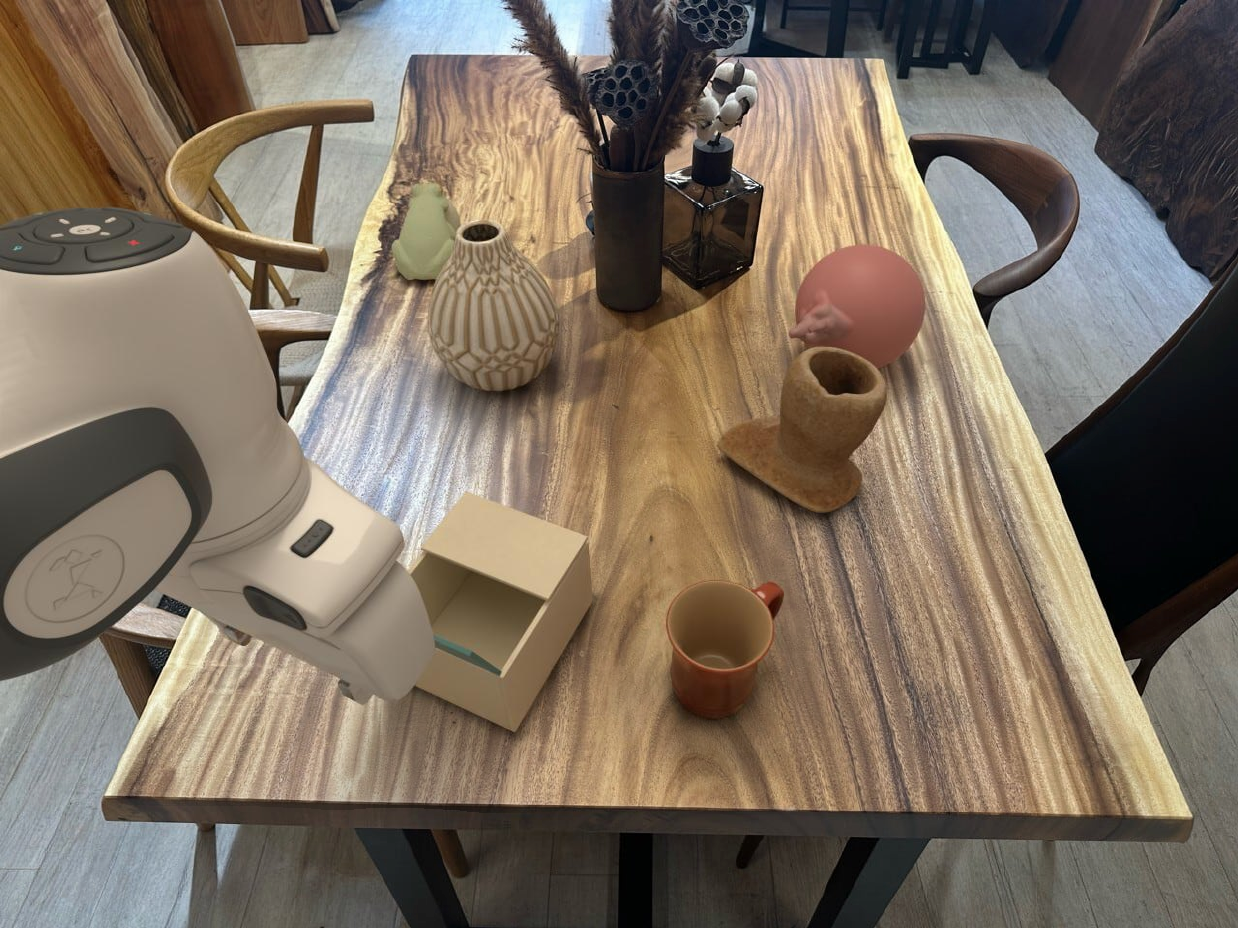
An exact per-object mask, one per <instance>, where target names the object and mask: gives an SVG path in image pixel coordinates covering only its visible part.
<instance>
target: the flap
mask: <svg viewBox="0 0 1238 928" xmlns="http://www.w3.org/2000/svg"><path fill="white" fill-rule="evenodd" d="M433 636H434V641H435V648H437V649H440V650H442V651H444V652H446V653H448V654H451V655H453V656H455V657H457V658H460V659H462V660H464V661H466V662H469V663H471V664H473V665H475V666H478V667H480V668H482V669H484V670H487V671H489V672H491V673H493V674H496V675H498V676H500V675H501V673H502V671H500V670H499V669H497V668H496V667H495V666H493V665H492V664H490V663H489V662H487V661H486V660H484V659H483V658H481V657H480V656H479V655H477V654H476V653H474V652H473V651H471V650H469V649H466V648H464V647H462V646H460V645H457V644H455V643H453V642H450V641H448V640H446V639H444V638H441V637H439V636H437V635H435V634H433Z"/></svg>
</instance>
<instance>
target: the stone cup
mask: <svg viewBox="0 0 1238 928" xmlns="http://www.w3.org/2000/svg"><path fill="white" fill-rule="evenodd" d="M887 400H888V388H887V384H886V381H885V378H884V376H883V374H882V373H881V371H880V370H879V368H876V367H875V366H874V365H873V364H872V363H870V362H869V361H867V360H866V359H864V358H862V357H860V356H859V355H856V354H854V353H852V352H849V351H846V350H843V349H839V348H834V347H813V348H810V349H808V348H807V349H805V350H804V351H802V352H801V353H799V354H798V356H796V357H795V359H794V360H793V361H792V362H791V363H790V365H789V366H788V368H787V370H786V372H785V375H784V379H783V382H782V387H781V391H780V402H779V403H780V404H779V405H780V407H779V415H773V416H765V417H763V418H757V417H755V418H752V419H746V420H745V421H741V422H740V423H738V424H736V425H735V426H733V427H732V428H730V429H729V430H727V432H725V433H724V434H723V435H721V437H720V438H719V440H718V442H717V444H716V448H717V449H718V450H719V451H721V453H723V454H724V455H726V456H727V457H728V458H729V459H730V460H732V461H733V462H734V463H736V464H737V465H738V466H740V468H742V469H744V470H745V471H747V473H750V474H751V475H753V476H754V477H755V478H757V479H758V480H760V481H761V482H762V483H764V484H765V485H767V486H768V487H770V488H771V489H773V490H774V491H776V492H778V493H779V494H781V495H783V497H785V498H787V499H788V500H790V501H791V502H793V503H795V504H797V505H798V506H799V507H802V508H804V509H806V510H808V511H812V512H813V513H818V514H826V513H830V512H833V511H835V510H837V509H840V508H842V507H843V506H845V505H847V503H849V502H850V501H852V499H853V498H854V497H855V496H856V495H857V494H858V492H859V491H860V489H861V486H862V481H863V473H862V471H861V469H859V468H858V466H857V465H855V463H854V462H853V461H852V460H851V459H850V457H851V456H852V455H853V453H854V452H855V451H856V450H857V449H858V448H860V447H861V445H862V444H863V443H864V442H865V440H866V439H867V438H868V437H869V436H870V434H871V433H872V432H873V430H874V428H875V426H876V424H877V423H878V421H879V419H880V417H881V416H882V415H883V411H884V410H885V407H886V404H887Z"/></svg>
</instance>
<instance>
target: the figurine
mask: <svg viewBox="0 0 1238 928" xmlns="http://www.w3.org/2000/svg"><path fill="white" fill-rule="evenodd" d="M411 195H412V196H411V199H410V201H409V202H408V205H407V206H408V210H407V213H406V215H405V218H404V221H403V225H402V227H401V230H400V234H399V237H398V239H395V240H394V241H393V242H392V244H391V252H392V255H393V258H394V261H395V262H396V269H397V271H398V272H399V274H401V276H403V278H405V279H406V280H408V281H411V280H422V281H427V280H428V281H429V280H435V281H436V279H437V277H438V275H439V273H440V271H441V270H442V268H443V266H444V265H445V263H446V261H447V260H448V259H449V257H450V256H451V254H452V251H453V247H454V242H455V236H456V232H457V230H458V228H459V227H460V226H462V223H461V216H460V215H459V214H460V213H459V211H458V210H457V208H456V207H455V205H454V204H453V203H452V202H451V200H450V199H448V198H447V197H446V195H445V193H444V188H443V186H441V185H440V184H439V183H437V182H436V183H435V182H428V183H425V184H424V183H423V185H421V183H415V184H414V185H413V186H412V188H411Z"/></svg>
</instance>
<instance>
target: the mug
mask: <svg viewBox="0 0 1238 928" xmlns="http://www.w3.org/2000/svg"><path fill="white" fill-rule="evenodd" d="M784 598H785V591H784V589H783V588H782V587H781V586H779V585H778V584H777V583H775V582H774V581H767V582H764V583H763V584H761V585H760V586H758V587H757V588H754V589H749V587H746V586H745V585H742V584H740V583H739V582H738V583H737V582H734V581H728V580H720V579H711V580H703V581H700V582H696V583H694V584H692V585H689V586H687V587H686V588H684V589H683V590H682V591H680V592H679V593H678V594H677V595H676V596H675V597H674V599H673V600H672V602H671V603H670V605H669V608H668V610H667V612H666V613H667V615H666V619H665V626H666V633H667V637H668V640H669V642H670V644H671V646H672V652H671V661H670V668H669V675H670V680H671V684H672V689H673V691H674V694H675V696H676V698H677V700H678V701H679V702H680V704H681V705H682V706H683V707H684V708H685V709H686V710H687V711H689V712H690V713H692V714H694V715H696V716H698V717H701V718H706V719H713V720H714V719H723V718H727V717H729V716H731V715H732V716H733V714H736V713H737V712H738V711H739V710H741V708H742V707H743V706H744V705H745V704H746V702H747V701H748V699H749V698H750V696H751V695H752V693H753V690H754V688H755V684H756V677H757V673H758V666H759V663H760V662H761V661H762V660H763V659H764V658H765V656H767V654H768V652H769V650H770V649H771V646H772V644H773V641H774V636H775V624H774V621H775V619H776V617H777V616H778V614H779V611H780V610H781V608H782V605H783V602H784Z"/></svg>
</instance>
